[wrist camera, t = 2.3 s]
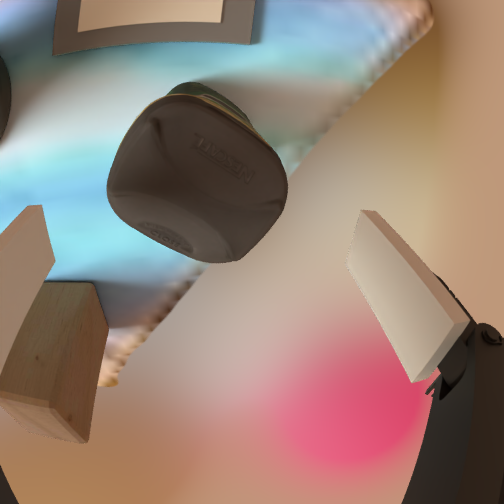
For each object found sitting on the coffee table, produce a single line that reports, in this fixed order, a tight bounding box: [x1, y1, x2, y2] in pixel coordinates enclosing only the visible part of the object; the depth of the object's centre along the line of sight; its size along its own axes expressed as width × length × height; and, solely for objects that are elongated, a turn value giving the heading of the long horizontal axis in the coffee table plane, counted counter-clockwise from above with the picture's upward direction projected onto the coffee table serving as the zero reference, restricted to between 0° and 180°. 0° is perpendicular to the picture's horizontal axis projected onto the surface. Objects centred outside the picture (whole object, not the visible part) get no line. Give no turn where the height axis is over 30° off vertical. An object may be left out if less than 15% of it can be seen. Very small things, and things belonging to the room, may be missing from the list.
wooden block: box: [0, 282, 109, 443], centre depth 31 cm, size 10×10×20 cm
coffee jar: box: [107, 82, 288, 263], centre depth 21 cm, size 10×8×19 cm
